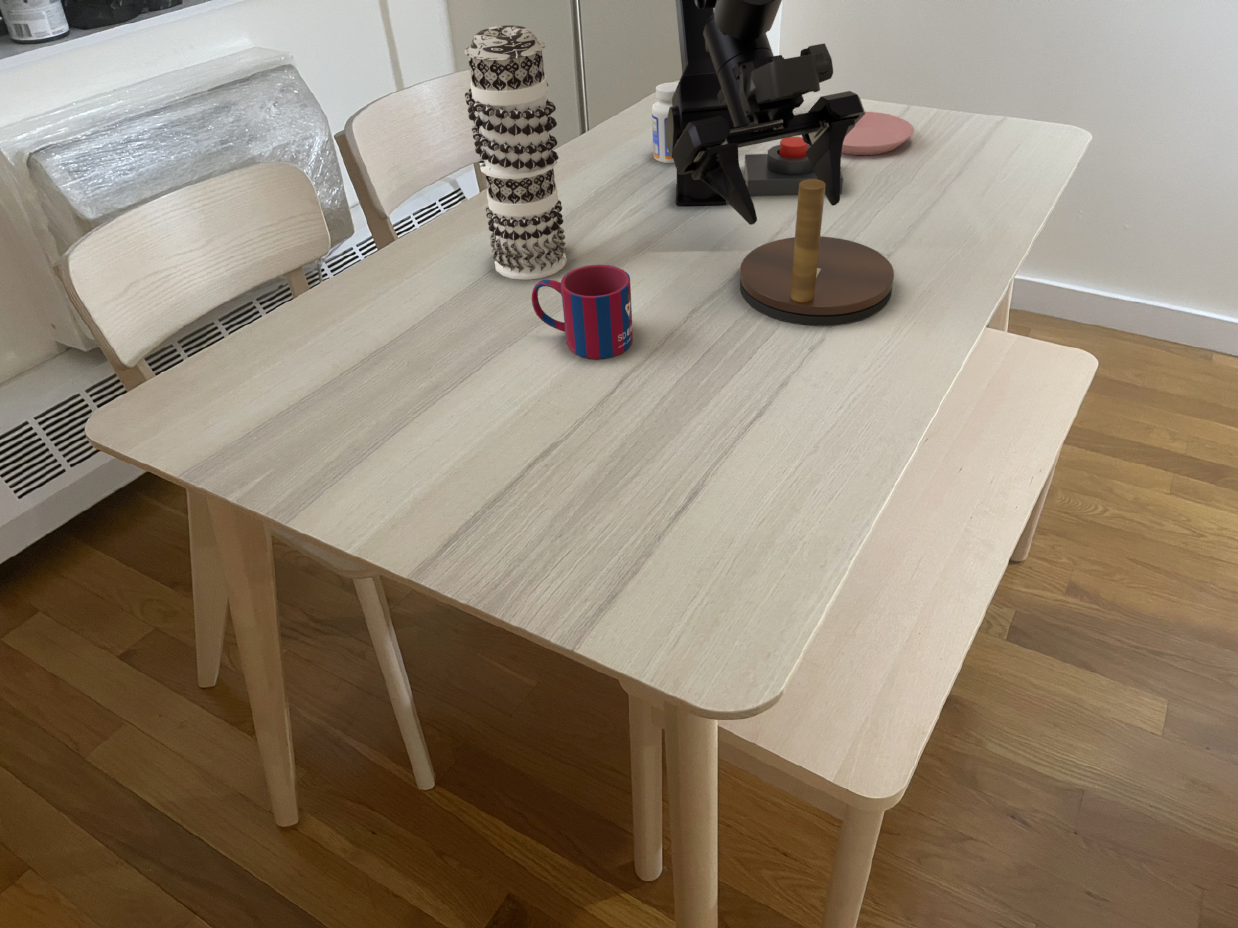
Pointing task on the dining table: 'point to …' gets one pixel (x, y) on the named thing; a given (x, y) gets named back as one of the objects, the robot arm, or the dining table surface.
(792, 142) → the button
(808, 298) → the turntable
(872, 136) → the plate
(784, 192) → the control block
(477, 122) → the decorative candle
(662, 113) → the pill bottle
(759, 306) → the turntable base
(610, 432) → the dining table surface
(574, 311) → the cup
